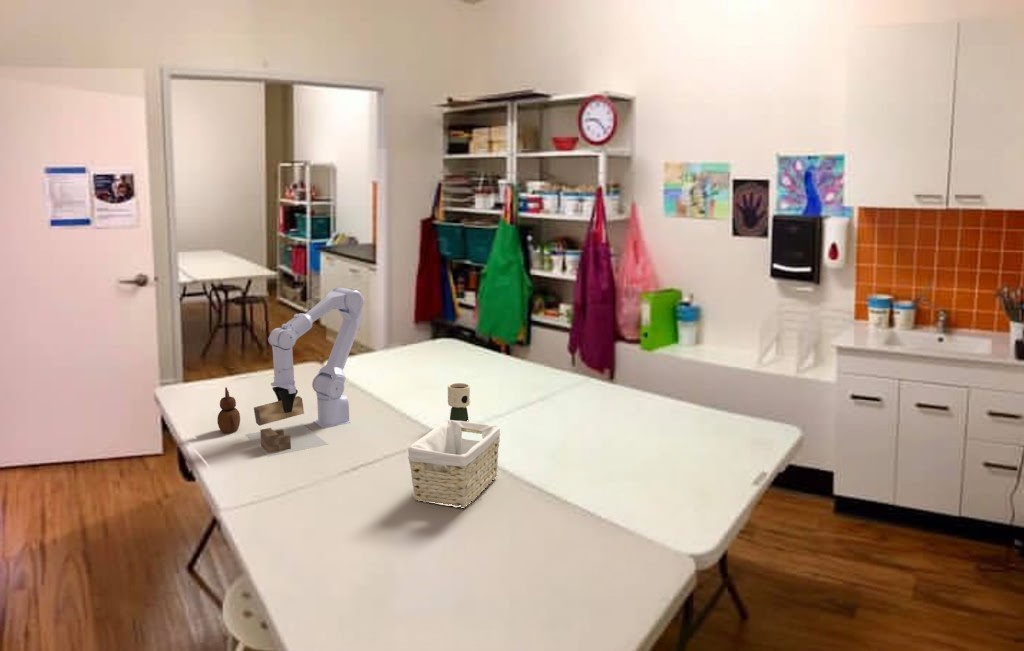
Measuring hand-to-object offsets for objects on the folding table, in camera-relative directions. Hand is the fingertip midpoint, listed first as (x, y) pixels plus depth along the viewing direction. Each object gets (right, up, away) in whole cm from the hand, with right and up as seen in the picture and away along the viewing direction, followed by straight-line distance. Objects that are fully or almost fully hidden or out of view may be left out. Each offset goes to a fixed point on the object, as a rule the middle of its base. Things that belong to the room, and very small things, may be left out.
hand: (286, 410), depth 242 cm
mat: (+1, -9, -4) cm, 9 cm away
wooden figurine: (-18, -7, +3) cm, 20 cm away
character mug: (+52, -6, +12) cm, 54 cm away
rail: (-2, -2, -1) cm, 3 cm away
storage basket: (+55, -17, -38) cm, 69 cm away
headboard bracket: (0, -10, -10) cm, 14 cm away
